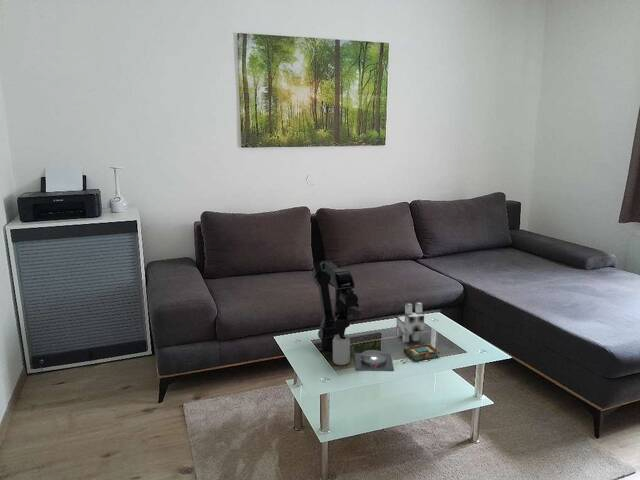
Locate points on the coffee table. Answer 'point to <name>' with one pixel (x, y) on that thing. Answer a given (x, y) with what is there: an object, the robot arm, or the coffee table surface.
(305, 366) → the coffee table surface
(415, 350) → the decorative book
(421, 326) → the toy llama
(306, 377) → the coffee table surface
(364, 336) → the coffee table surface
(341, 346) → the can
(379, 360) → the square metal dish
